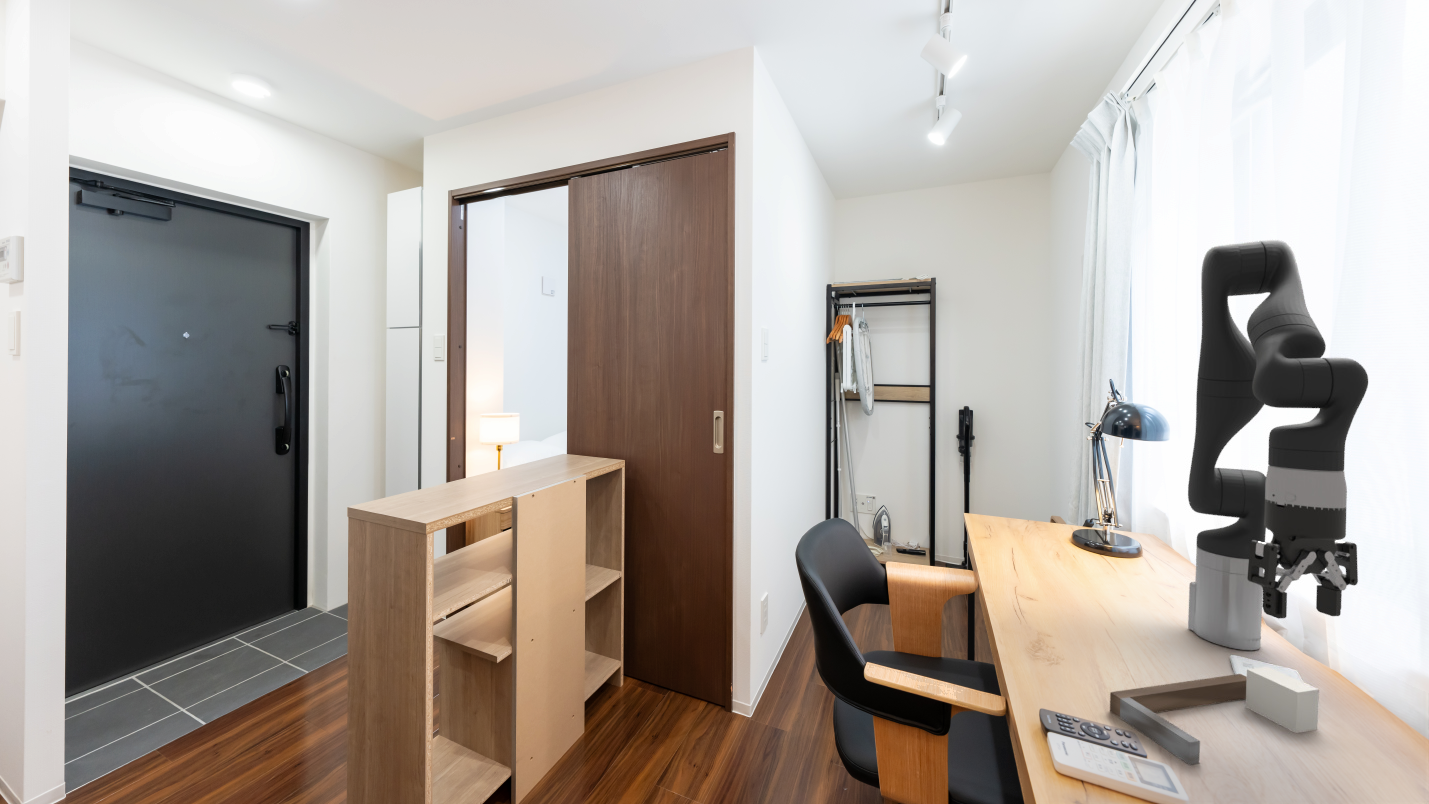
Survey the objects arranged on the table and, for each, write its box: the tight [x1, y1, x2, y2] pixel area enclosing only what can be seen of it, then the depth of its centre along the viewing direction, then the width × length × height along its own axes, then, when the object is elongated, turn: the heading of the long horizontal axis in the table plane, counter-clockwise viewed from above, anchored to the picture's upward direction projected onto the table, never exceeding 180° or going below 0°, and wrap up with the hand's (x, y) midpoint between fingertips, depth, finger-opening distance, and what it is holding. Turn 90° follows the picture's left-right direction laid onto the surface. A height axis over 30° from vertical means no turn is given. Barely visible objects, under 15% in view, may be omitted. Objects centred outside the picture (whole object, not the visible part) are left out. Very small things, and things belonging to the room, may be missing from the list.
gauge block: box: [1245, 667, 1320, 734], centre depth 77 cm, size 6×4×6 cm, turn 11°
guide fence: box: [1109, 674, 1247, 765], centre depth 75 cm, size 11×25×3 cm, turn 101°
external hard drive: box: [1229, 654, 1304, 682], centre depth 85 cm, size 2×8×12 cm
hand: (1301, 615), depth 72 cm, fingers open, 8 cm apart
